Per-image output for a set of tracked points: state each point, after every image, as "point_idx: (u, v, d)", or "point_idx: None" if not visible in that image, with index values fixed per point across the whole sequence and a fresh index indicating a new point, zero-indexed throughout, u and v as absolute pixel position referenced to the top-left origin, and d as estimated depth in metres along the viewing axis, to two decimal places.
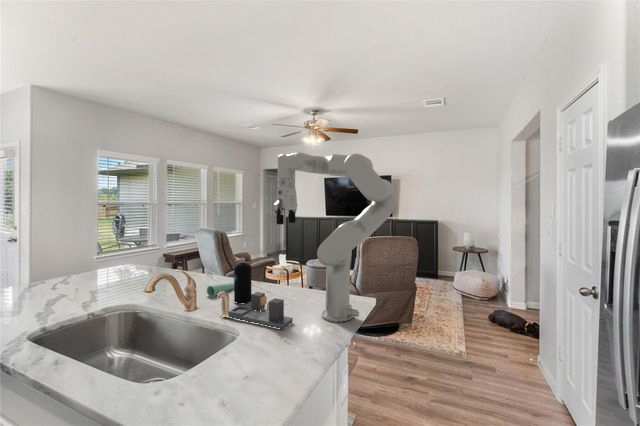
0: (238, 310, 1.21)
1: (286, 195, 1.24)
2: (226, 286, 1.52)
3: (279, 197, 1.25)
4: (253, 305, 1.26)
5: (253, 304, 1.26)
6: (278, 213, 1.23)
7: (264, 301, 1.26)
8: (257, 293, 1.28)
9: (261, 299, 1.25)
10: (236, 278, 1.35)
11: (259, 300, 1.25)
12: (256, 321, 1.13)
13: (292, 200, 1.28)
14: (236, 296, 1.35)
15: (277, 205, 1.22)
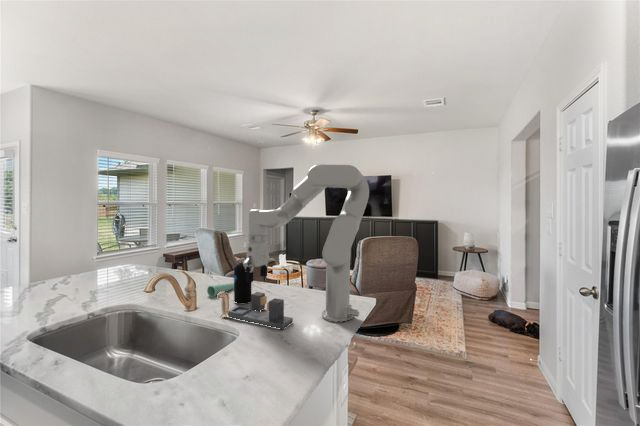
0: (238, 310, 1.21)
1: (256, 252, 1.22)
2: (226, 286, 1.52)
3: (249, 254, 1.22)
4: (253, 305, 1.26)
5: (253, 304, 1.26)
6: (247, 271, 1.21)
7: (264, 301, 1.26)
8: (257, 293, 1.28)
9: (261, 299, 1.25)
10: (236, 278, 1.35)
11: (259, 300, 1.25)
12: (256, 321, 1.13)
13: (263, 256, 1.26)
14: (236, 296, 1.35)
15: (246, 264, 1.19)
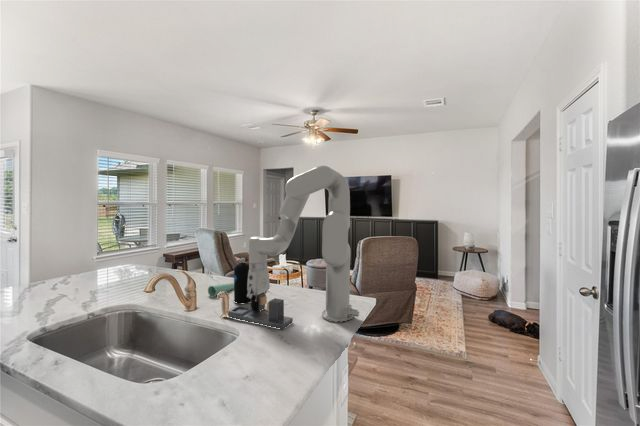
0: (238, 310, 1.21)
1: (256, 281, 1.22)
2: (227, 286, 1.52)
3: (250, 282, 1.23)
4: None
5: None
6: (252, 300, 1.24)
7: (264, 301, 1.26)
8: None
9: (261, 299, 1.25)
10: (236, 278, 1.35)
11: (259, 300, 1.25)
12: (256, 321, 1.13)
13: (264, 283, 1.26)
14: (236, 296, 1.35)
15: (250, 295, 1.21)
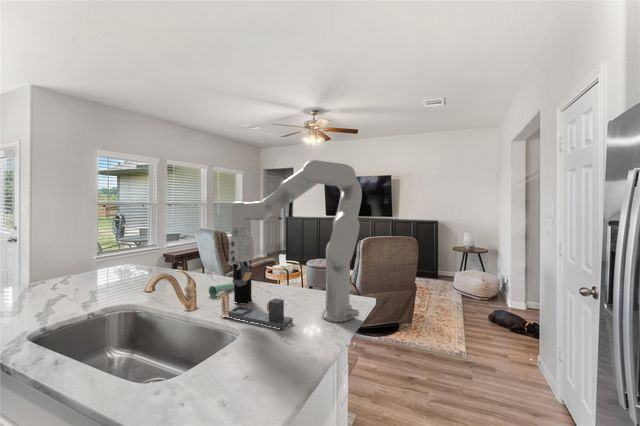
0: (238, 310, 1.21)
1: (238, 247, 1.15)
2: (227, 286, 1.52)
3: (231, 249, 1.15)
4: None
5: None
6: (234, 268, 1.16)
7: (247, 277, 1.18)
8: (243, 266, 1.20)
9: (245, 275, 1.17)
10: None
11: (243, 275, 1.17)
12: (256, 321, 1.13)
13: (247, 250, 1.19)
14: (236, 296, 1.35)
15: (231, 263, 1.14)
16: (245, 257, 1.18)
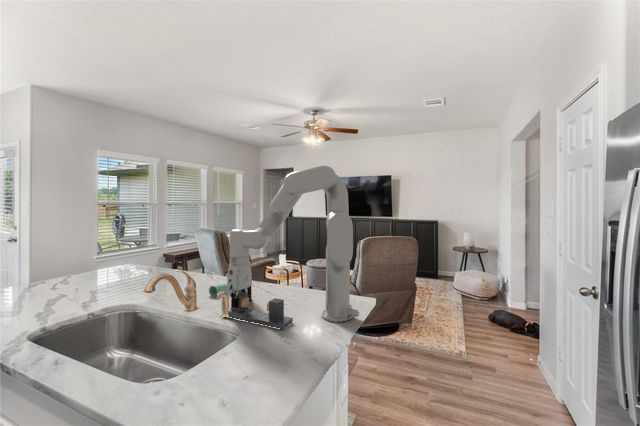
0: None
1: (236, 276, 1.15)
2: None
3: (230, 277, 1.15)
4: None
5: None
6: (232, 297, 1.16)
7: (245, 303, 1.18)
8: (240, 293, 1.20)
9: (243, 301, 1.17)
10: None
11: (241, 302, 1.17)
12: (256, 321, 1.13)
13: (245, 278, 1.19)
14: None
15: (229, 291, 1.14)
16: (243, 285, 1.18)
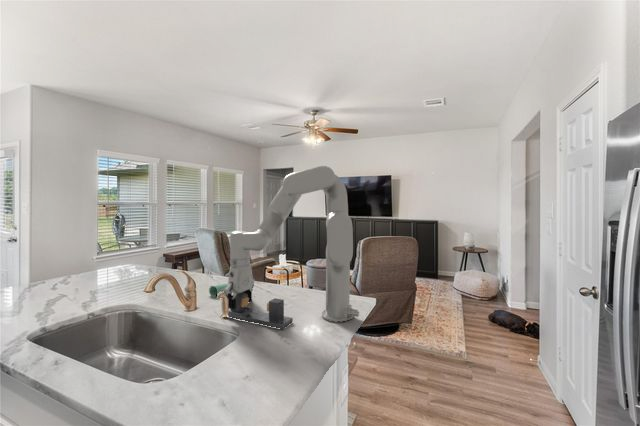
0: None
1: (237, 278, 1.15)
2: None
3: (231, 280, 1.15)
4: None
5: None
6: (229, 298, 1.14)
7: (245, 303, 1.18)
8: (240, 293, 1.20)
9: (243, 301, 1.17)
10: None
11: (241, 301, 1.17)
12: (256, 321, 1.13)
13: (246, 280, 1.19)
14: None
15: (227, 290, 1.12)
16: (244, 287, 1.18)
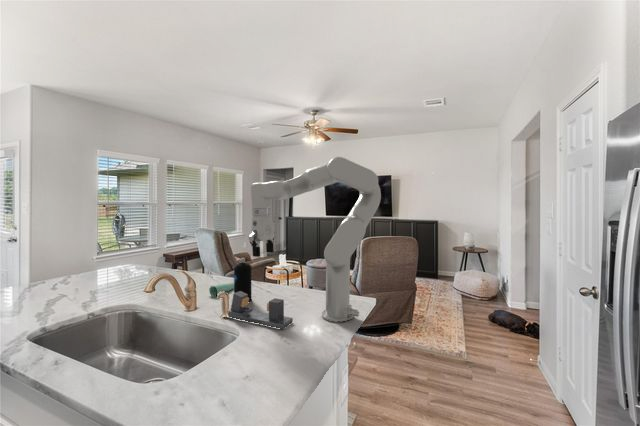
0: None
1: (261, 226, 1.18)
2: (228, 286, 1.53)
3: (254, 228, 1.19)
4: (233, 305, 1.19)
5: (233, 303, 1.19)
6: (254, 245, 1.18)
7: (245, 303, 1.18)
8: (240, 293, 1.20)
9: (243, 301, 1.17)
10: (236, 278, 1.35)
11: (241, 301, 1.17)
12: (256, 321, 1.13)
13: (268, 230, 1.23)
14: None
15: (252, 237, 1.16)
16: (267, 236, 1.21)
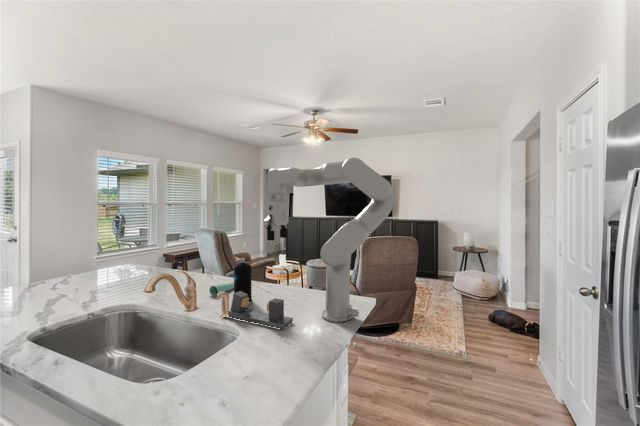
0: None
1: (276, 211, 1.21)
2: (228, 286, 1.53)
3: (270, 213, 1.22)
4: (233, 305, 1.19)
5: (233, 303, 1.19)
6: (268, 229, 1.21)
7: (245, 303, 1.18)
8: (240, 293, 1.20)
9: (243, 301, 1.17)
10: (236, 278, 1.35)
11: (241, 301, 1.17)
12: (256, 321, 1.13)
13: (283, 215, 1.26)
14: None
15: (267, 221, 1.19)
16: (282, 221, 1.25)
